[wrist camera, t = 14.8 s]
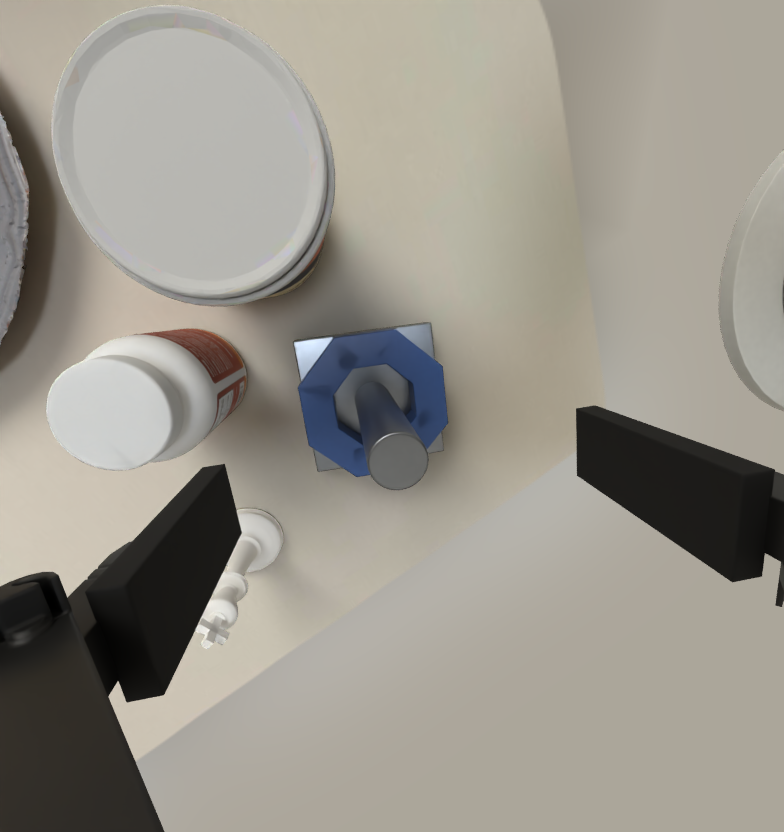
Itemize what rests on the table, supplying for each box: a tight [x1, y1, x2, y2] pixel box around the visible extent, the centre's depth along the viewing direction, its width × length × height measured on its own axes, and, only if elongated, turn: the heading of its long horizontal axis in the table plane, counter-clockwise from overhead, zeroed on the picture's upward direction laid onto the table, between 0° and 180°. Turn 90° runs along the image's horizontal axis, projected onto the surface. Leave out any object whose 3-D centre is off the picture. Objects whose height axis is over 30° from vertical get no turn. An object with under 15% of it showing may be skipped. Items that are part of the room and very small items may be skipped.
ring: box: [298, 328, 448, 477], centre depth 26 cm, size 9×9×2 cm
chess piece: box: [195, 508, 283, 649], centre depth 25 cm, size 5×5×10 cm
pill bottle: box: [46, 329, 247, 471], centre depth 21 cm, size 6×6×11 cm
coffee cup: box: [51, 5, 335, 306], centre depth 19 cm, size 9×9×12 cm
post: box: [293, 322, 444, 490], centre depth 22 cm, size 9×9×14 cm
